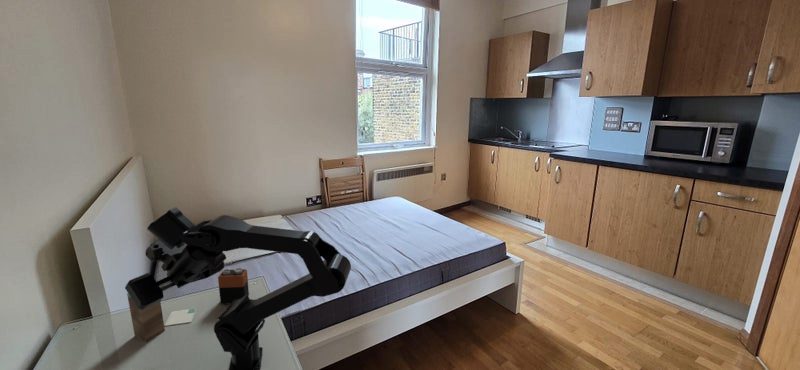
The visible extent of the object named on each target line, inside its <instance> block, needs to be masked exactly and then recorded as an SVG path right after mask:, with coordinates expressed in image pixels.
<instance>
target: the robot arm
mask: <svg viewBox="0 0 800 370" xmlns="http://www.w3.org/2000/svg"><path fill="white" fill-rule="evenodd" d="M146 230H147V231H148V232H149V233H150V234H151V235H153V236H154V237H155V238H157V240H155V242H152V243H151V244H150V245H149V246H148V247H147V248H146V250H145V257H146V258H148V260H149V261H151V262H152V263H154V262H157V261H158V262H160V263H163V264H162V265H161V266H160V268H161V269H162V270H163V272H166V277H164V278H162V279H161V278H160V279H158V280H156V278H155V277H154V276H153V274H151V273H149V272H147V273H144V274H142V275H139V276H137V277H134V278H132V279H130V280H128V281H127V283H126V285H125V287H124V288H125V290H126V292H127V293H128V294H129V295H130V297H131V298H132V300H133V301H134V303H135V304H136V306H137V307H138V309H145V308H147V307H149V306H151V305H153V304H155V303H157V302H159V301H160V302H161V301H162V300H163V299H164V292H165V291H167V290H169V289H171V288H173V287H177V289H180V288H182V287H184V286H187V285H188V284H191V283H194V282H198V281H201V280H205V279H208V278H209V277H212V276H213V275H216V274H217V273H221V272H222V271H223V270H224V268H225V260H227V256H226V254H225V253H224V252H230V251H234V250H238V249H251V250H259V251H268V252H276V253H287V254H293V255H298V257H300V258H301V260H303V262H304V265H305V266H306V269H307V271H308V273H307V274H306V275H304V276H301V277H300V278H298V279H296V280H294V281H292V282H291V281H290V282H289V283H287V284H285V285H283V286H281V287H279V288H277V289H275V290H273V291H270V292H269V293H267V294H265V295H262V296H260V297H259V298H257V299H252V298H251V299H250V297H249V296H248V295H245V296H244V297H242V298H241V299H238V300H234V301H233V302H232V303H231V304H228V306H227V308H226V309H224V310H223V312H222V313H221V314H220V315H219V316H218V317H217V321H216V322H215V324H214V325H213V330H214V334H215V336H216V338H217V340H218V342H219V344H220V346H221V348H222V350H223V352H225V353H230V355H231V359H230V364H229V368H228V370H260V369H261V367H262V360H263V351H264V349H263V347H261V346H260V341H259V339H260V338H259V332H260V331H261V330H262V329H263V328H264V326H265V322H266V320H265V319H266V318H269V317H271V316H273V315H275V314H278V313H280V312H283V311H284V310H286V309H288V308H290V307H292V306H294V305H296V304H298V303H301V302H303V301H305V300H307V299H309V298H311V297H320V298H321V297H322V298H324V297H327V296H331V295H335V294H338V293H340V292H341V291H343V289H344V287H345V286H346V284H347V281H348V278H349V275H350V273H351V270H352V264H351V261H350V260H349V259H348V257H346V256H345V255H342V254H341V253H340V252H339V250H338V249H337V248H336V247H335V246H334V245H332V244H330V243H329V242H327V241H326V240H324V239H323V238H322V237H321V236H320V235H319V234H318V233H317V232H316V231H313V230H306V231H305V230H304V231H302V230H295V229H287V228H286V229H285V228H279V227H268V226H261V225H254V224H250V223H248V222H246V221H244V220H243V219H242V218H239V217H234V216H231V215H227V214H223V215H219V216H218V217H216V218H214V219H207V220H202V221H200V222H199V223H197V224H194V223H193V222H192V220H190V219H189V218H188V217H186V216H185V215H184V214H183V212H182V211H181V210H180V209H179V208H178V207H177V206H176V207H173V208H171V209H168V210H167V211H166V212H165V213H164V214H162V215H161V216H160V217H158V218H157V219H156V220H154V221H152V222H151V223H150V224H149V225H148V227H146Z"/></svg>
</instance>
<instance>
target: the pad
mask: <svg viewBox="0 0 800 370" xmlns="http://www.w3.org/2000/svg"><path fill="white" fill-rule="evenodd" d="M197 310H198V309H197V308H190V309H189V308H188V309H181V310H174V311H171V312H170V314H169V316H168V318H167V320H166V321H165V323H164V327H170V326H176V325H184V324H191V323H192V321H193V320H194V319H193V318H194V317H195V314H196V312H197Z"/></svg>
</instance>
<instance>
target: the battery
mask: <svg viewBox="0 0 800 370" xmlns="http://www.w3.org/2000/svg"><path fill="white" fill-rule="evenodd" d="M217 282H218V289H219V290H218V291H219V301H220V305H230V304H231V303H232V302H233V301H234V300H238V299H241V298H242V297H244V296H245V295H248V297H249V296H250V292H249V291H250V290H249V280H248V270H247V269H245V268H244V269H243V268H241V267H239V268H235V269H227V268H226V269H222V270H221V272H220V274H219V275H218V277H217Z"/></svg>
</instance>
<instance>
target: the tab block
mask: <svg viewBox="0 0 800 370" xmlns="http://www.w3.org/2000/svg"><path fill="white" fill-rule="evenodd" d="M126 295H127V296H126V297H127V300H128V306H129V312H130V316H131V323H132V328H133V329H132V330H133V335H134V337H135V338H138V339H140V340H142V341H144V342H148V341H149V340H151V339H153V338H155V337H157V336H158V335H159V334H162V333H164V332H166V331H165V330H166V328H165V326H164V325H165V323H164V316H163V309H162V304H161V301H159V302H157V303H155V304H153V305H151V306H149V307H147V308H145V309H138V307H137V306H136V304H135V303H134V301H133V300H132V298H131V297H130V295H129V294H128V292H127V293H126Z"/></svg>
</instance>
